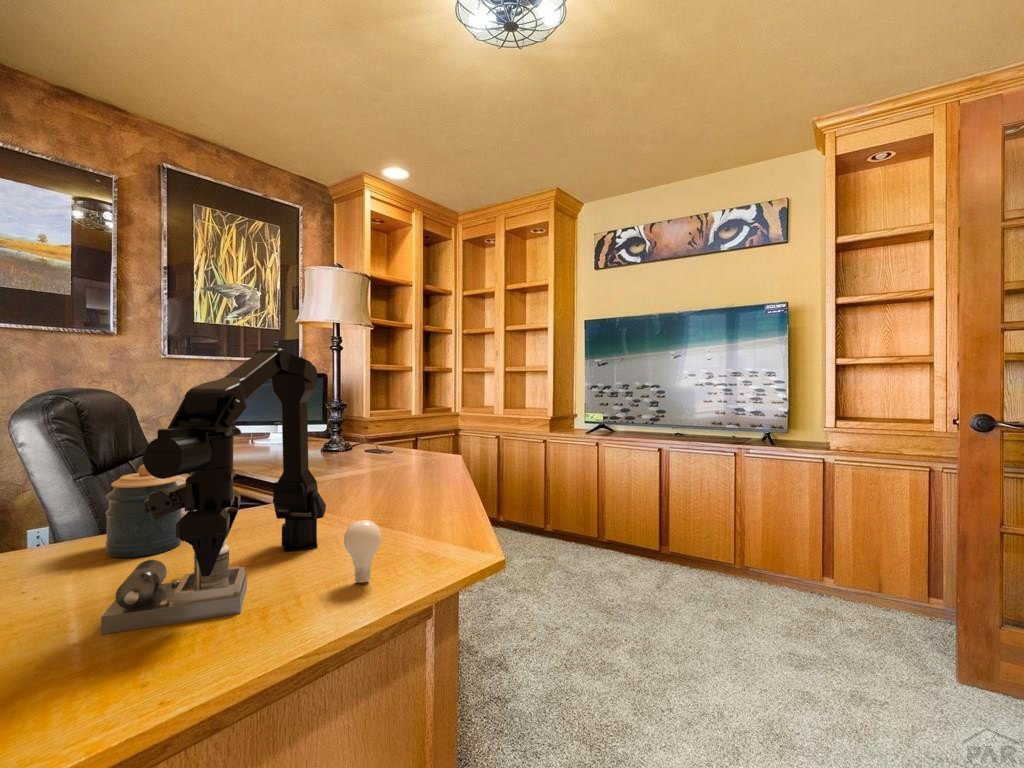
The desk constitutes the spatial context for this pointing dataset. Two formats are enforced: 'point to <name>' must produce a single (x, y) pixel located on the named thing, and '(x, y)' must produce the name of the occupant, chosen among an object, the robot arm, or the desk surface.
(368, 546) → the lightbulb
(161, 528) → the canister
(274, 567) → the desk surface
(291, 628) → the desk surface
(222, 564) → the pill bottle
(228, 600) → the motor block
